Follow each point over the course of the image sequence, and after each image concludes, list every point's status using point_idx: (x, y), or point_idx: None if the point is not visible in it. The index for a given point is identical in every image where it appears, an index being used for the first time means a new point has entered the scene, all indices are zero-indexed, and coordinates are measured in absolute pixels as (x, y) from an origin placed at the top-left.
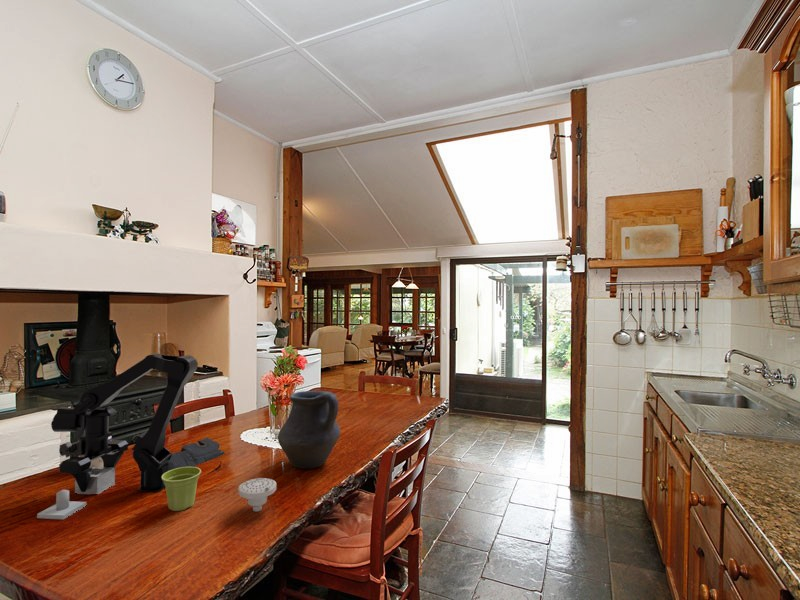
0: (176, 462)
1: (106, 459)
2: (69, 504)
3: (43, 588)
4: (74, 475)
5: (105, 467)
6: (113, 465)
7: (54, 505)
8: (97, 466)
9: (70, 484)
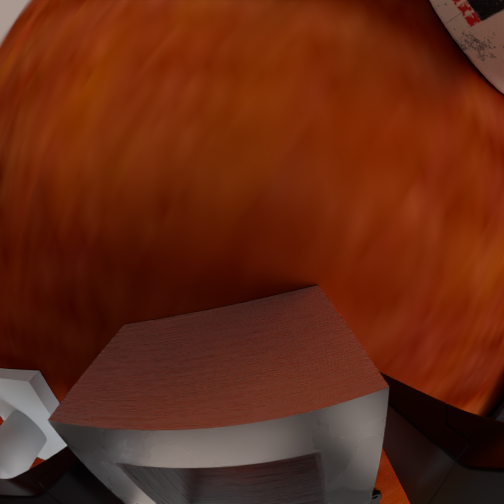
0: None
1: (458, 496)
2: (49, 434)
3: None
4: (20, 486)
5: (367, 488)
6: (406, 493)
7: (7, 384)
8: (495, 71)
9: (235, 92)
